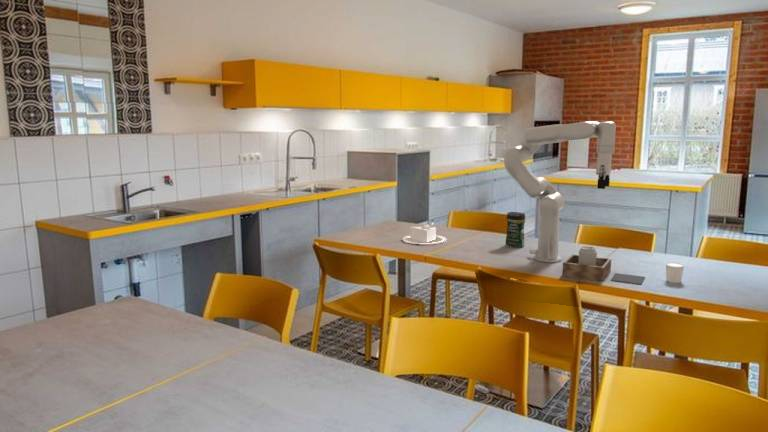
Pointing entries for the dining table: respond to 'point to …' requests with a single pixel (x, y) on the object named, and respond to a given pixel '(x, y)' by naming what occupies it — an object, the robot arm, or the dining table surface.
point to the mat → (628, 278)
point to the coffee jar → (515, 229)
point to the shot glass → (674, 272)
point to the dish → (423, 235)
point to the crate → (586, 268)
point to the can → (587, 256)
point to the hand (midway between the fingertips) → (603, 187)
